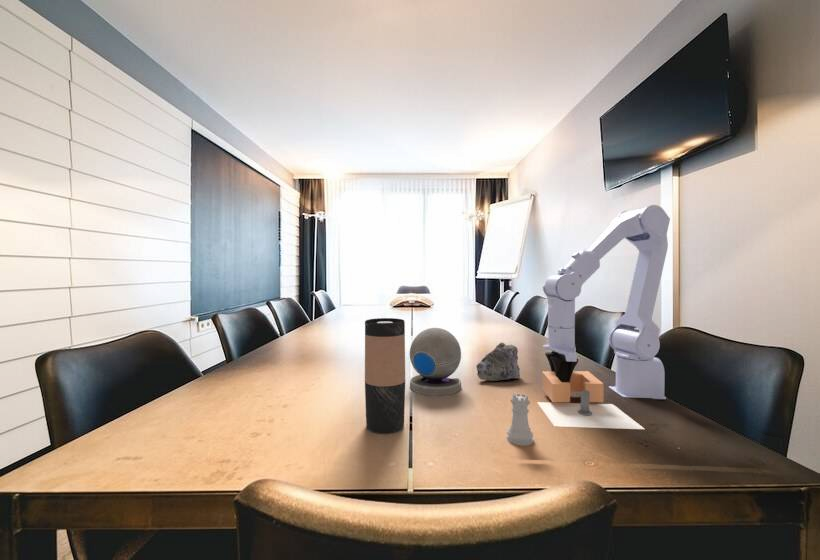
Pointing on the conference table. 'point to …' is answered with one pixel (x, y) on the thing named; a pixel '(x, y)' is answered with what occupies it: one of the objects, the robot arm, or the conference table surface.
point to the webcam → (435, 362)
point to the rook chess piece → (520, 422)
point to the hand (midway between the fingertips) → (560, 385)
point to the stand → (587, 414)
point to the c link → (572, 386)
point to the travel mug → (385, 374)
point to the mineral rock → (499, 364)
